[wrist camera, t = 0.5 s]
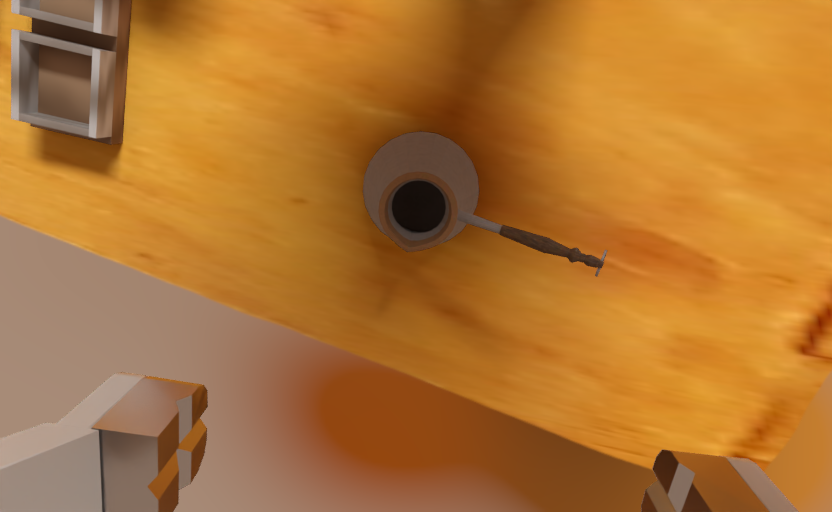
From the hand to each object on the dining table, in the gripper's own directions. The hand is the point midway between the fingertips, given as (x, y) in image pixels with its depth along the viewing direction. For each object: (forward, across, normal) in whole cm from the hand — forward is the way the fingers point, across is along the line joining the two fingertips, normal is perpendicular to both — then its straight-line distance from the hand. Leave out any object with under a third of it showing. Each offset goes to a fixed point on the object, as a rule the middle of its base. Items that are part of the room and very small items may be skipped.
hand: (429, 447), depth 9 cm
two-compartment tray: (+46, +35, -7) cm, 59 cm away
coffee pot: (+46, -4, +4) cm, 47 cm away
